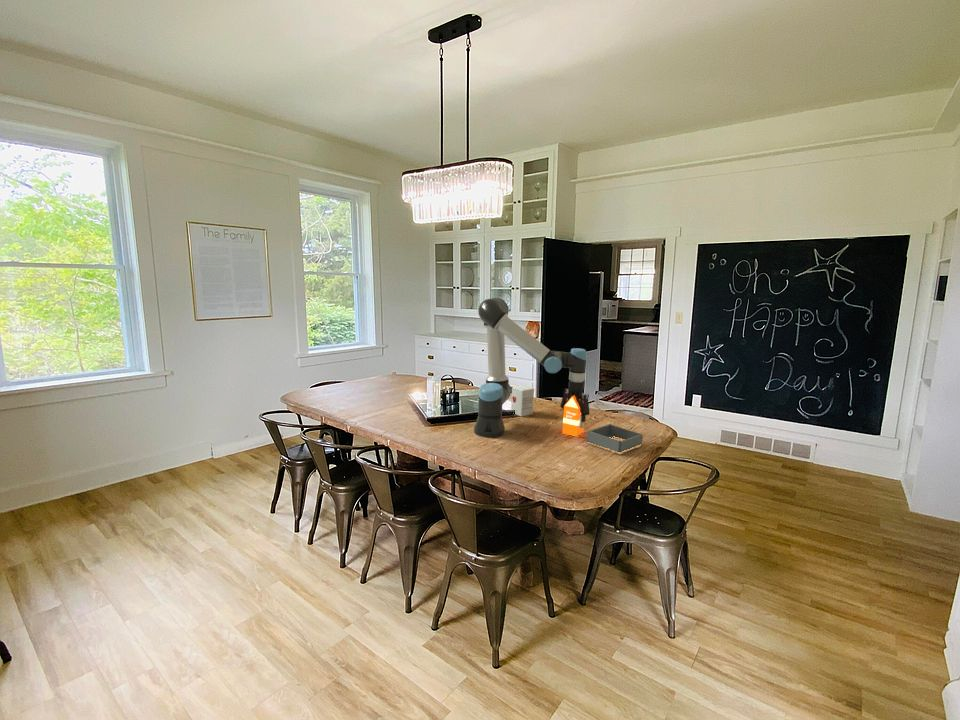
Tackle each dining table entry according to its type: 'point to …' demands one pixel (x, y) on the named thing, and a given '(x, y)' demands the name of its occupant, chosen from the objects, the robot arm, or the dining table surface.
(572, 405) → the orange juice
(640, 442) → the bin
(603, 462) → the dining table surface
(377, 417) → the dining table surface
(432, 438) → the dining table surface
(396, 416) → the dining table surface
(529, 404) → the supplement box
